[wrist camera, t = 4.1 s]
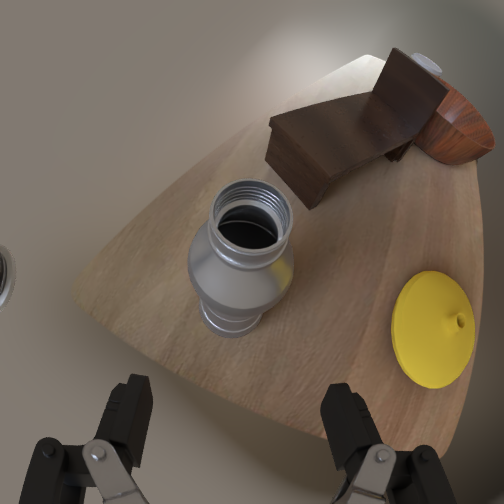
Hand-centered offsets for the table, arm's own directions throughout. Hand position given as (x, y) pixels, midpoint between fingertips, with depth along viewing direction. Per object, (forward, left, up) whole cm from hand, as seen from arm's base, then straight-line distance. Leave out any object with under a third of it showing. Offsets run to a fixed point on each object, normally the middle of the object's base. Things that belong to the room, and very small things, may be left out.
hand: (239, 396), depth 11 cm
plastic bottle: (-2, +7, -18) cm, 19 cm away
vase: (+24, +11, -18) cm, 32 cm away
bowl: (+28, +55, -18) cm, 65 cm away
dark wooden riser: (+7, +35, -17) cm, 40 cm away
